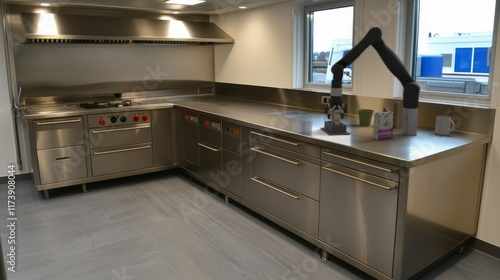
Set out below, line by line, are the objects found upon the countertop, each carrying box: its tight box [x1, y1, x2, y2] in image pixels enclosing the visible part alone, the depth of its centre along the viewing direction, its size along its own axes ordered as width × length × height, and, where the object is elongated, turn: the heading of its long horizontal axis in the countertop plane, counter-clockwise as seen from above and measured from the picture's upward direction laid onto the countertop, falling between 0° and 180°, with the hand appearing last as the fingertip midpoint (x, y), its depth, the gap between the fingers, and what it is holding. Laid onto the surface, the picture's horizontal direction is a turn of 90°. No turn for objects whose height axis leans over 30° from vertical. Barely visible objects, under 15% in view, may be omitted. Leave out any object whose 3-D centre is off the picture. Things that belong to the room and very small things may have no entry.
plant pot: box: [357, 108, 375, 127], centre depth 286 cm, size 12×12×11 cm
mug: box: [434, 115, 456, 136], centre depth 254 cm, size 12×8×11 cm
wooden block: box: [382, 101, 400, 129], centre depth 280 cm, size 4×11×18 cm, turn 44°
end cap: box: [320, 120, 352, 136], centre depth 266 cm, size 22×14×6 cm, turn 5°
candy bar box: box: [372, 111, 394, 141], centre depth 242 cm, size 11×5×16 cm, turn 114°
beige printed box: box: [330, 110, 341, 125], centre depth 264 cm, size 10×3×14 cm, turn 5°
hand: (335, 119), depth 265 cm, fingers open, 8 cm apart
